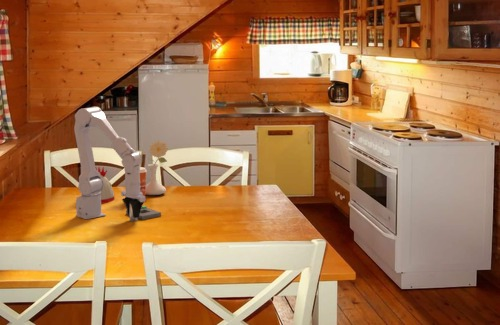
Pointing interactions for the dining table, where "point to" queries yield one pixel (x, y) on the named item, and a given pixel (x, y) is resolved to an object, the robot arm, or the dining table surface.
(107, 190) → the kitchen timer
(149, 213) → the block
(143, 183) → the paper cup
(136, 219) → the battery cell
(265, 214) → the dining table surface
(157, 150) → the flower in vase
